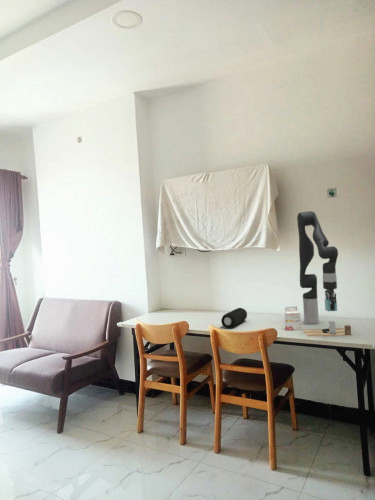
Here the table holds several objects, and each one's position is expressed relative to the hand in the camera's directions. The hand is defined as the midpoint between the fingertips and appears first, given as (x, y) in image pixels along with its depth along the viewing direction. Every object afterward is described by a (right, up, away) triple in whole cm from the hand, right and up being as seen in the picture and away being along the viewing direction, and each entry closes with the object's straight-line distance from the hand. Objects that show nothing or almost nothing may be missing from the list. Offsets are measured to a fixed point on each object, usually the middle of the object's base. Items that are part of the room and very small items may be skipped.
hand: (331, 309), depth 209 cm
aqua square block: (0, -1, 0) cm, 1 cm away
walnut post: (+9, -15, -2) cm, 17 cm away
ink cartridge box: (-17, -16, +16) cm, 29 cm away
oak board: (-1, -15, +5) cm, 16 cm away
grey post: (+1, -15, 0) cm, 15 cm away
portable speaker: (-51, -18, +40) cm, 68 cm away
